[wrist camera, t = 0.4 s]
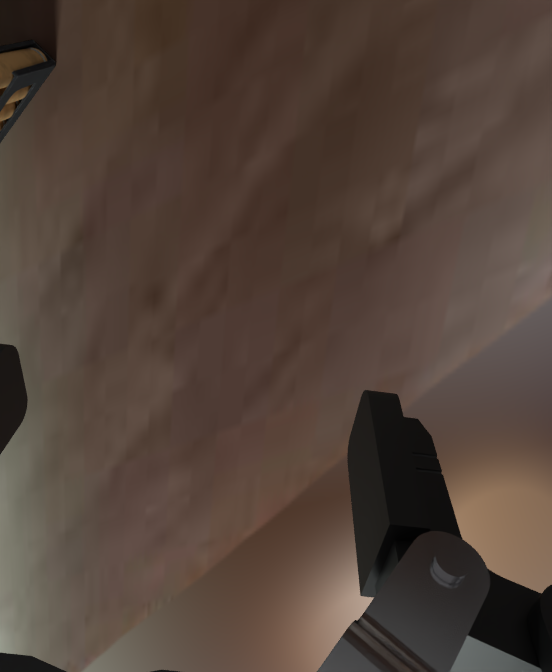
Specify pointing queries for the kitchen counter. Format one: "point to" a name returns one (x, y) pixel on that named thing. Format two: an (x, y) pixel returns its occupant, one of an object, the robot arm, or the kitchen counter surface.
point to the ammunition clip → (20, 79)
